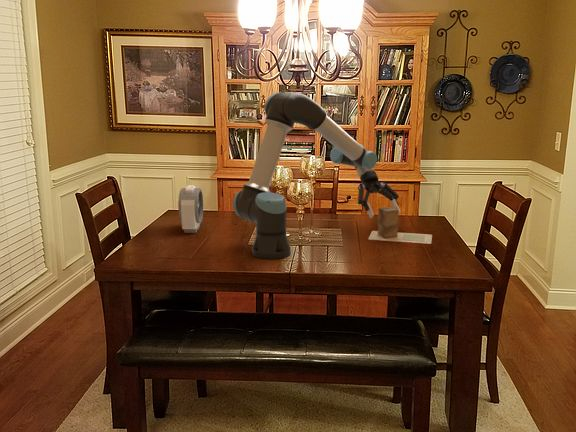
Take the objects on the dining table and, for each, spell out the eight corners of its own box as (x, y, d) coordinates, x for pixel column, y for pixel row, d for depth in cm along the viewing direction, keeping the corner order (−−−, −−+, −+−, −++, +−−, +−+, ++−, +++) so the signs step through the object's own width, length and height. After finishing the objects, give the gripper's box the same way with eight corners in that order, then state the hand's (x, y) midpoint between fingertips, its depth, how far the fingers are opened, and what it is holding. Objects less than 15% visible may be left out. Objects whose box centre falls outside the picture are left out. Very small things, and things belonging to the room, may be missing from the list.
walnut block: (397, 236, 250) (398, 209, 247) (385, 238, 247) (386, 211, 245) (389, 233, 255) (390, 206, 252) (377, 235, 253) (378, 208, 250)
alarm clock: (198, 235, 256) (196, 189, 251) (178, 235, 256) (176, 189, 251) (204, 224, 274) (203, 182, 269) (186, 224, 274) (184, 182, 269)
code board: (431, 245, 240) (431, 243, 240) (367, 240, 247) (368, 239, 247) (432, 236, 253) (432, 234, 253) (372, 232, 260) (372, 230, 260)
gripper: (386, 177, 270) (405, 216, 261) (340, 182, 260) (357, 222, 251) (394, 167, 265) (413, 206, 255) (346, 172, 254) (364, 213, 245)
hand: (385, 214), depth 253 cm, fingers open, 13 cm apart
